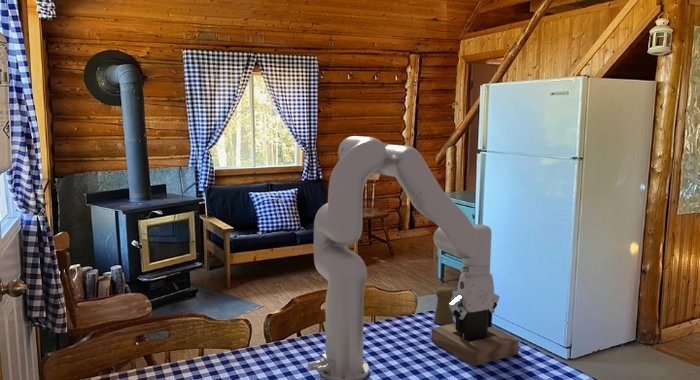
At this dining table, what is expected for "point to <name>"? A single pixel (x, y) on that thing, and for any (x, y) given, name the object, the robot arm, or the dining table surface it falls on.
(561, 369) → the dining table surface
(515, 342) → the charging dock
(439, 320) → the cork
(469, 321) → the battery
